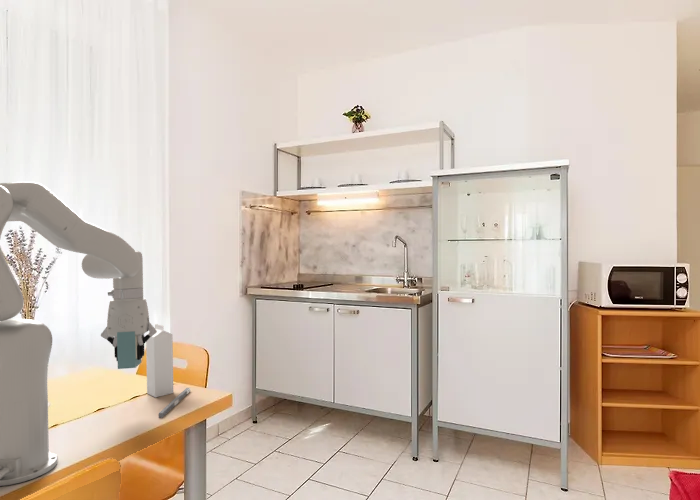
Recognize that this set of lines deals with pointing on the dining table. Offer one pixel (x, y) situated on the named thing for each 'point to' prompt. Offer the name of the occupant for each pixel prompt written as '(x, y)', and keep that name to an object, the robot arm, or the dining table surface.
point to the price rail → (173, 402)
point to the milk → (159, 363)
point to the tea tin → (127, 350)
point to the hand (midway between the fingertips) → (129, 358)
